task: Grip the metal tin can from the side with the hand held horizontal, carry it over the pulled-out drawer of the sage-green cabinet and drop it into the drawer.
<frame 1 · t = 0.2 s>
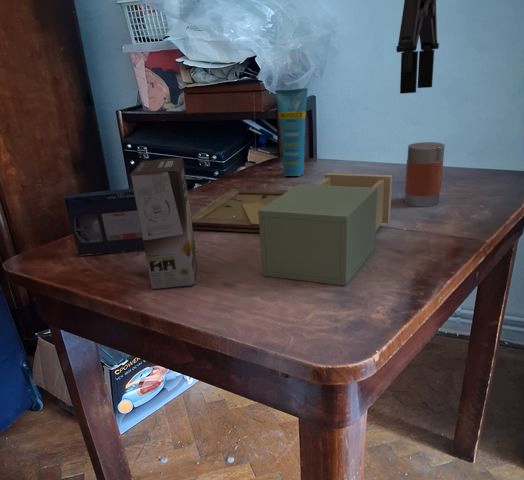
hand: (416, 90, 101), 19 cm above the table, tool pointing down, fingers open, 13 cm apart
vhs cassette tape: (133, 250, 92), on the table
tin can: (421, 202, 104), on the table
tube: (294, 176, 131), on the table
cabinet: (320, 262, 81), on the table
coffee box: (176, 277, 80), on the table
picture frame: (252, 213, 106), on the table
drawer: (350, 204, 89), point 5 cm above the table, slide at 10.5 cm
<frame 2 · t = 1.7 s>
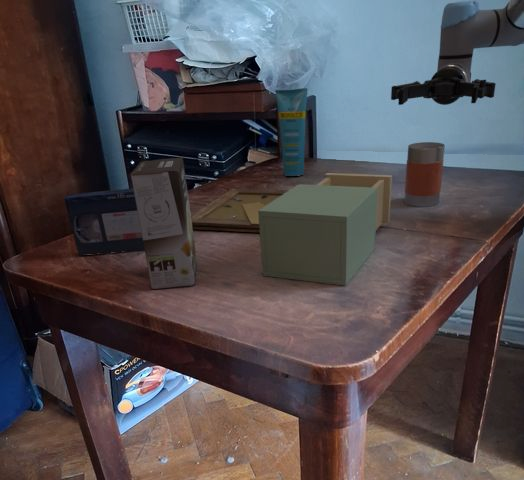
hand: (436, 96, 103), 18 cm above the table, tool horizontal, fingers open, 13 cm apart
nothing on the table moved.
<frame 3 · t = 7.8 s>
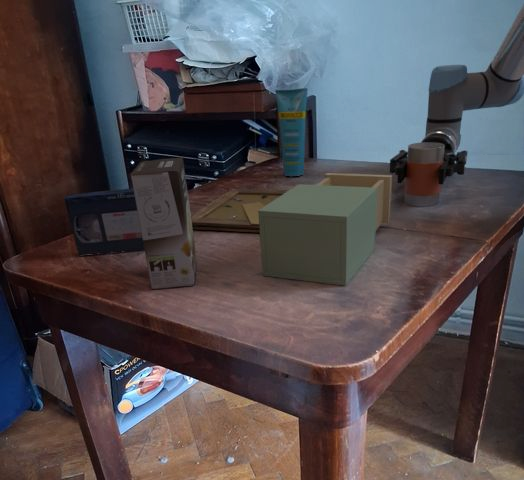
hand: (420, 176, 97), 6 cm above the table, tool horizontal, fingers closed on tin can, 7 cm apart
tin can: (421, 202, 104), on the table, touching gripper
everything else where it was.
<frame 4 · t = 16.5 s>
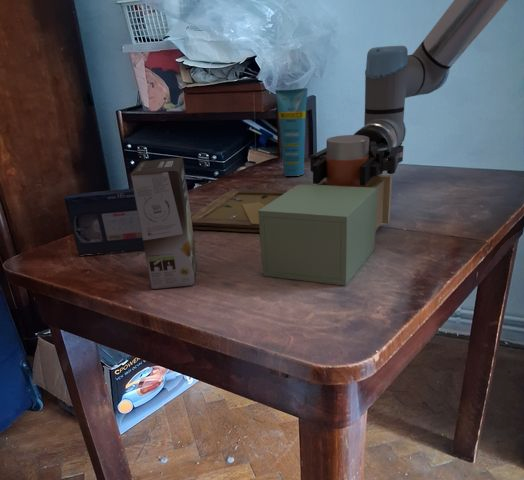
hand: (338, 175, 81), 11 cm above the table, tool horizontal, fingers closed on tin can, 7 cm apart
tin can: (346, 206, 88), point 5 cm above the table, touching gripper
everything else where it was.
when the fingers open (14 cm above the table, at t = 30.2 s): tin can drops 6 cm, resting on drawer.
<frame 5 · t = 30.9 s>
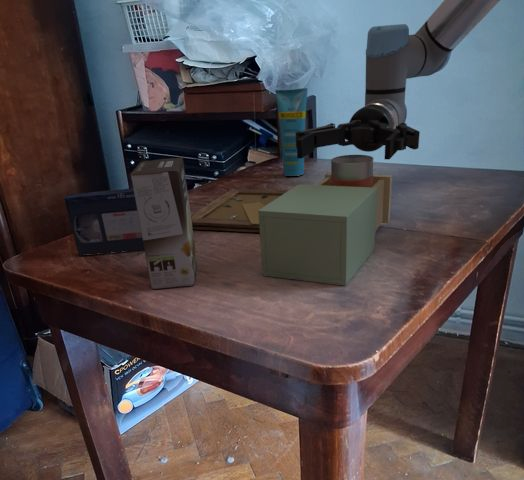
hand: (341, 149, 80), 15 cm above the table, tool horizontal, fingers open, 13 cm apart
tin can: (351, 224, 89), point 2 cm above the table, touching drawer
drawer: (350, 204, 89), point 5 cm above the table, slide at 10.5 cm, touching tin can
everything else where it was.
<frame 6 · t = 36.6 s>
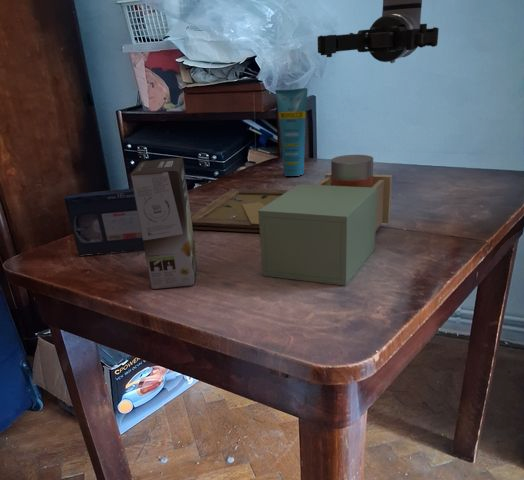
hand: (364, 42, 84), 28 cm above the table, tool horizontal, fingers open, 13 cm apart
nothing on the table moved.
at the end: tin can inside the target area in the drawer (6.9 cm from its centre), point 2.0 cm above the cabinet's base; the gripper is holding nothing; drawer slide at 10.5 cm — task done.
